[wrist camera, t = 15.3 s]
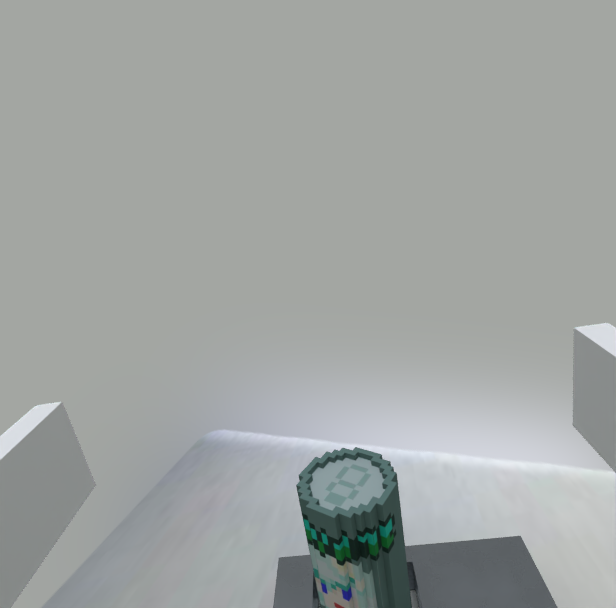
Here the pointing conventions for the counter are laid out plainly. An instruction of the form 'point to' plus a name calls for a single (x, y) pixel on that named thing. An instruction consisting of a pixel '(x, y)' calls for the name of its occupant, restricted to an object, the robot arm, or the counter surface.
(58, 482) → the robot arm
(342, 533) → the can
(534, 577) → the grey slab with hole
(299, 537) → the counter surface
